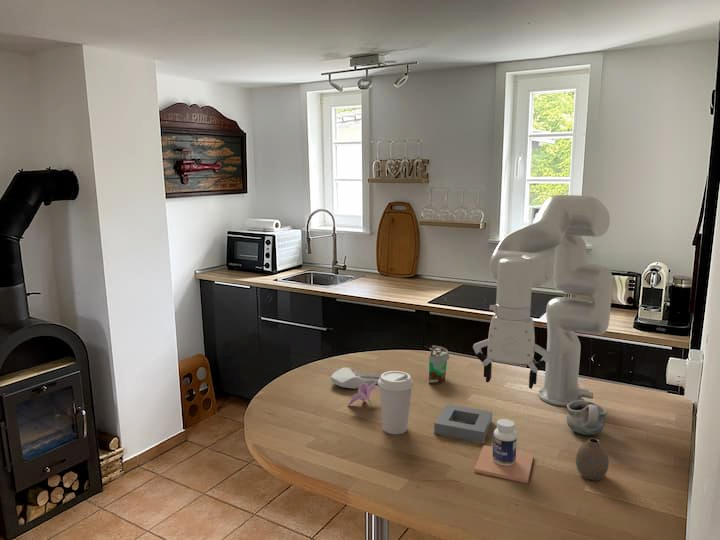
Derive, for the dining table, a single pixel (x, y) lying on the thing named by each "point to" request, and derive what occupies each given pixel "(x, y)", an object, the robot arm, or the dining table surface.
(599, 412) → the mug
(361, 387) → the lily
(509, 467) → the terracotta tile
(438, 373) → the food container
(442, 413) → the bottle holder
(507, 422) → the pill bottle
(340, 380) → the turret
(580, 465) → the vase
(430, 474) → the dining table surface
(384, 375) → the coffee cup
